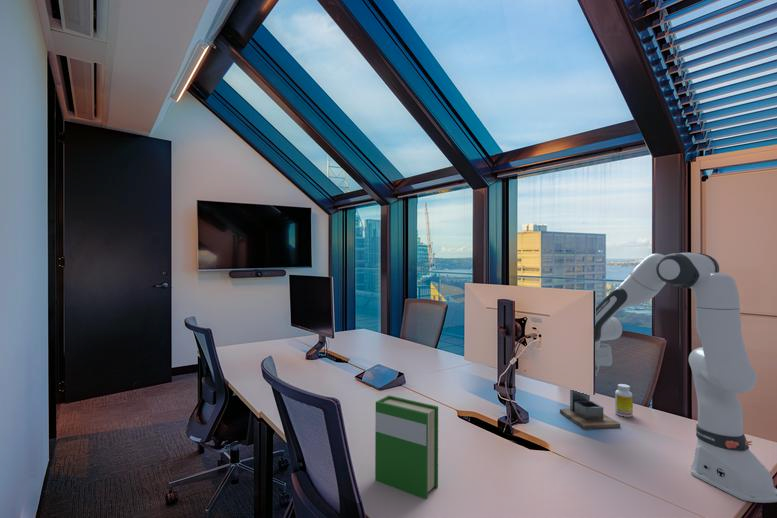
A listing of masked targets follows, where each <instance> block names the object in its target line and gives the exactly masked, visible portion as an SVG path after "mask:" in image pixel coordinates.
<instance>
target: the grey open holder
mask: <svg viewBox="0 0 777 518" xmlns="http://www.w3.org/2000/svg"><path fill="white" fill-rule="evenodd" d="M590 397H591V394H590V395H587V394H584V393H580V392H577V391H574V390H570V389H569V407H570V408H569V409H570V410H571V411H572V412H575V414H577V415H578V416H580V417H581V418H583V419H584V420H601V419H603V414H604V407H603V406H601V405H600V404H599V403H597V402H594V401H593V400H591V399H590Z"/></svg>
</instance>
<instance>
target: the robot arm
mask: <svg viewBox="0 0 777 518" xmlns="http://www.w3.org/2000/svg"><path fill="white" fill-rule="evenodd" d="M666 284H667V285H671V286H675V287H678V288H682V289H683V290H684V289H685V290H687V289H691V290H692V291H693V293H694V297H695V298H694V299H695V300H694V301H695V323H696V324H695V325H696V332H697V335H698V337H699V340H700V343H701V346H702V347H701V346H700V347H697V348H695V349H693V350H692V351H691V352H690V354H689V356H688V363H689V366H690V369H691V372H692V378H693V383H694V389H695V393H696V399H697V400H696V401H697V424H696V425H695V427H696V428H695V436H696V437H697V440H696V441H697V442H696V445H695V446H696V447H695V449H694V450H695V451H694V458H693V461H692V464H691V471H690V473H691V475H692V476H693V477H695V478H696V479H697V478H698V479H699V480H701V481H703V482H706V483H708V484H710V485H711V486H713V487H716V488H718V489H719V490H722V491H724V492H726V493H728V494H729V495H731V496H733V497H735V498H737V499H740V500H742V501H746V502H751V503H759V504H761V503H763V504H766V503H770V504H771V503H777V488H776V487H775V486H774V481H773V476H772V474H771V471H770V470H769V469H767V468H766V466H765V465H764V464H763V463H762V462H761V461H760V460H759V459H758V457H756V455H754V453H753V452H752V451H751V450H750V446H752V445H753V444H752V443H753V441H752V440H747V438H746V436H745V434H744V416H743V415H744V411H743V405H742V404H741V402H740V400H739V397H738V394H744V393H747V392H750V391H751V390H753V389H754V387H755V386H756V384H757V380H758V378H757V373H756V371H755V370H754V369H753V366H752V364H751V363H750V359H749V357H748V356H749V355H748V353H747V352H748V351H747V350H746V349H747V348H746V346H745V343H744V338H743V334H742V333H743V332H742V323H741V321H742V319H741V318H742V317H741V302H740V294H739V291H738V287H737V282H736V280H735V279H734V278H733V276H731V275H729V274H727V273H724V272H723V273H722V272H720V264H719V263H718V261H717V259H715V258H714V257H712V256H710V255H708V254H705V253H693V252H673V253H670V254H666V255H665V254H662V253H655V252H654V253H650V254H649V255H647V256H646V257H645V258H643V260H641V261H640V262H639V263H638V264H637V265H636V266H635V268H634V269H633V270H632V271H631V272H630V274H629V275H628V276H626V278H625V279H624V280H623V281H622V282H621V283H620V284H619V285H618V286H617V287H615V289H613V290H612V291H611V292H610V293H609V294H608V295H607V296H606V297H604V298H603V300H602V301H601V302H599V304H598V305H596V322H595V361H596V363H595V377H597V376H598V371H599V370H600V367H611V366H612V365H613V354H612V346H611V345H610V344H608V343H601V342H604V341H605V342H606V341H615V340H617V339H620V338H621V336H622V334H623V333H624V329H623V327H624V326H623V324H622V322H621V321H620V319H619V318H617V317H615V315H616V313H618V312H619V311H621V310H622V309H626V308H628V307H631V306H635V305H640V304H644V303H647V302H649V301H651V300H652V299H653V298H654V297H655V296H657V295H658V294H659V293H660V291H661V290H662V289H663V288H664V287H665V285H666Z"/></svg>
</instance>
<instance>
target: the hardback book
mask: <svg viewBox="0 0 777 518" xmlns="http://www.w3.org/2000/svg"><path fill="white" fill-rule="evenodd" d="M374 426H375V427H374V428H375V437H374V438H375V440H374V441H375V443H374V445H375V447H374V449H375V450H374V451H375V452H374V454H375V455H374V457H375V458H374V459H375V460H374V461H375V462H374V464H375V467H374V469H375V470H374V475H375V476H374V478H375V479H374V480H375V482H378V483H381V484H383V485H386V486H389V487H391V488H395V489H397V490H400V491H402V492H405V493H408V494H411V495H413V496H415V497H419V498H422V499H424V500H428V496H429V495H428V494H429V492H431V490H432V489H439V406H437V405H435V404H429V403H424V402H422V401H421V402H419V401H415V400H411V399H406V398H403V397H402V398H401V397H399V396H398V397H397V396H393V395H387V396H385V397H383V398H381V399H378V400H377V401H375V425H374Z"/></svg>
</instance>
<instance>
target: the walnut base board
mask: <svg viewBox="0 0 777 518" xmlns="http://www.w3.org/2000/svg"><path fill="white" fill-rule="evenodd" d="M559 413H560V414H561V415H563V416H564V417H566V418H567V419H569V420H570V421H571V422H573V423H574V424H576V425H577V426H578V427H580V428H581V429H583V430H587V429H588V430H590V429H591V430H592V429H594V428H596V429H613V428H615V429H617V428H618V427H620V428H621V423H620V422H618V421H617V420H615V419H614V418H611V417H610V416H608V415H606V414H605V413H603V419H601V420H584V419H583V418H581V417H580V416H578V415H577V414H575V412H572V411H571V410H570V408H559Z"/></svg>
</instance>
